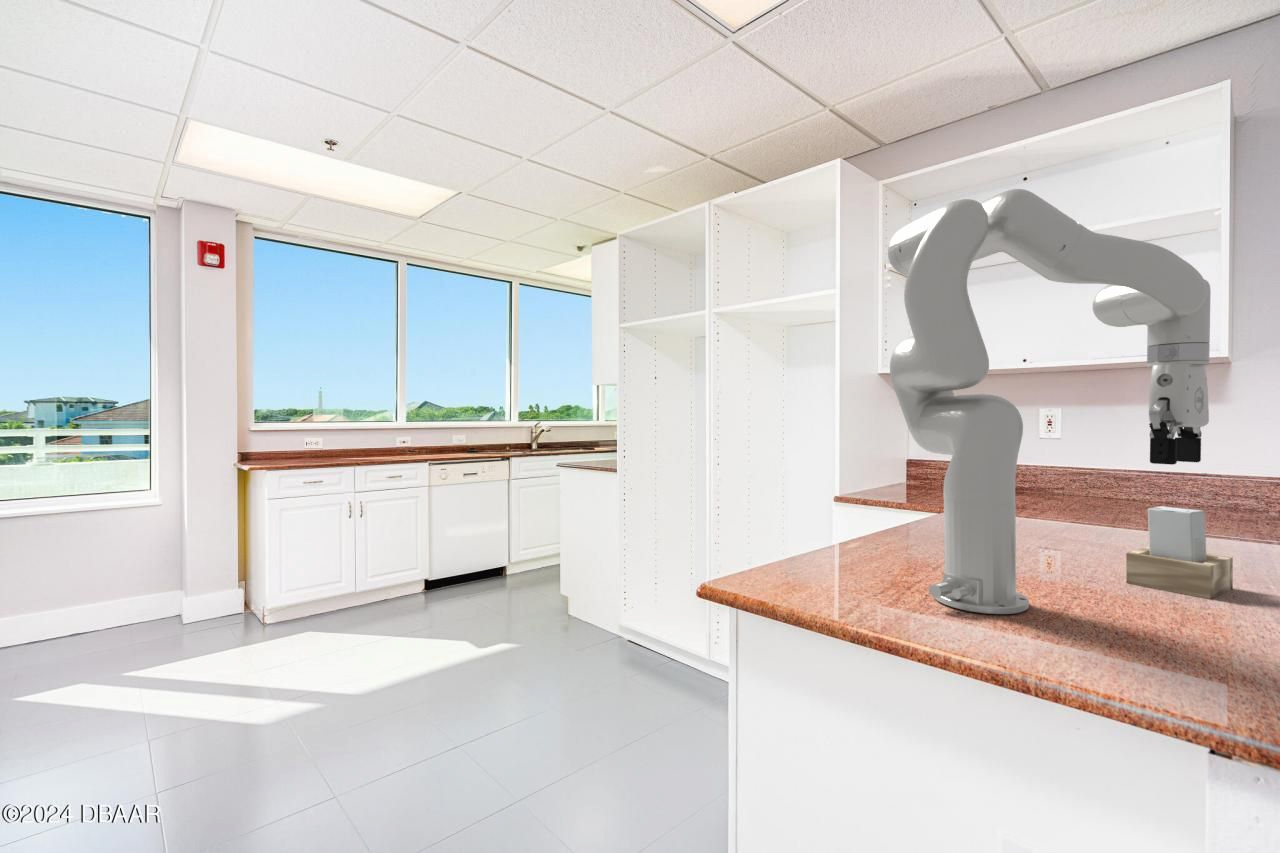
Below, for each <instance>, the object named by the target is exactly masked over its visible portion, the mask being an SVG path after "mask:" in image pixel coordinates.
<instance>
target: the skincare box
mask: <svg viewBox="0 0 1280 853" xmlns="http://www.w3.org/2000/svg"><path fill="white" fill-rule="evenodd" d="M1205 515H1206V514H1205V511H1204V510H1200V509H1191V508H1183V507H1182V508H1181V507H1170V506H1165V505H1164V506H1160V505H1159V506H1155V507H1154V506H1153V507H1149V508H1147V524H1148V546H1149V552H1150V555H1152V556H1158V557H1165V558H1171V559H1178V560H1184V561H1191V562H1197V563H1205V562H1207V560H1206V554H1207V540H1206V537H1207V536H1206V516H1205Z"/></svg>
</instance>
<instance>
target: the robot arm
mask: <svg viewBox="0 0 1280 853" xmlns="http://www.w3.org/2000/svg"><path fill="white" fill-rule="evenodd" d="M998 253H1004V254H1007V255H1008V256H1010V257H1011V258H1013V259H1015V261H1017V262H1020V263H1021V264H1023V265H1024V266H1025V267H1027V268H1029V269H1030V270H1032V271H1034V272H1035V273H1036V274H1038V275H1040V276H1042V277H1043V278H1044V279H1047V280H1048V281H1051V282H1056V283H1063V284H1064V283H1065V284H1076V285H1077V284H1082V285H1083V284H1084V285H1086V284H1087V285H1089V284H1090V285H1093V284H1094V285H1095V284H1096V285H1106V286H1104V287H1103V288H1102V289H1100V290H1099V291H1098V292H1097V294H1096V295H1095V296H1094V298H1093V301H1092V312H1093V314H1094V315H1095V317H1096V318H1097V320H1098V321H1100V322H1101V323H1102V324H1105V325H1107V326H1109V327H1115V328H1124V327H1125V328H1126V327H1132V326H1142V325H1143V326H1144V325H1145V326H1147V334H1146V335H1147V338H1146V341H1147V343H1146V344H1147V345H1146V346H1147V347H1146V348H1147V350H1146V352H1147V353H1146V354H1147V355H1146V368H1151V374H1150V383H1149V395H1148V396H1149V397H1148V420H1149V424H1148V425H1149V428H1150V432H1149V462H1150V463H1151V464H1154V465H1156V464H1157V465H1171V466H1172V465H1176V464H1177V462H1180V463H1181V462H1182V463H1184V462H1185V463H1201V461H1202V430H1201V428H1202V427H1205V426H1207V425H1208V424H1209V422H1210V420H1209V419H1210V418H1209V417H1210V414H1209V411H1210V410H1209V392H1208V378H1207V372H1206V367H1205V366H1209V365H1210V351H1211V350H1210V346H1211V344H1210V340H1211V338H1210V336H1211V285H1210V282H1209V281H1208V280H1207V279H1204V277H1203V276H1202V274H1201V273H1200V272H1199V270H1198V269H1197V268H1195V267H1194V265H1192V264H1190V263H1189V262H1188V261H1186V260H1185V259H1183V257H1180V256H1179V255H1177V254H1176V253H1174V252H1173V251H1171V250H1170V249H1168V248H1165V247H1162V246H1160V245H1158V244H1154V243H1150V242H1146V241H1143V240H1142V241H1141V240H1137V239H1132V238H1126V237H1122V236H1117V235H1112V234H1105V233H1100V232H1098V233H1097V232H1094V231H1092V230H1090V229H1088V228H1087V227H1086V226H1084V225H1083V224H1081V223H1079V222H1078V221H1076V220H1075V219H1073V218H1072V217H1070V216H1068V215H1067V214H1065V213H1064V212H1062V211H1061V210H1059V209H1058V208H1057V207H1055V206H1054V205H1052V204H1051V203H1049V202H1048V201H1046V200H1045V199H1043V198H1041V197H1040V196H1038V195H1037V194H1035V193H1034V192H1031V191H1030V190H1027V189H1025V188H1024V189H1022V188H1014V189H1008V190H1006V191H1003V192H1000V193H998V194H996V195H993V196H992V197H990V198H987V199H985V200H982V201H981V202H979V201H977V200H975V199H970V198H962V199H958V200H954V201H952V202H949V203H946V204H944V205H941V206H939V207H937V208H936V209H934V210H932V211H930V212H928V213H926V214H925V215H923V216H921V217H920V218H918V219H915V220H913V221H912V222H910V223H908V224H906V225H904V226H903V227H901V228H900V229H899V230H897V231H896V232H895V233H894V234H893V236H892V237H891V239H890V241H889V243H888V248H887V258H888V260H889V263H890V266H892V268H893V269H894V270H895V271H896V272H897V273H899V274H901V275H903V276H905V277H906V280H905V285H904V292H903V297H904V298H903V302H904V305H905V306H904V307H905V311H906V315H907V318H908V322H909V325H910V329H911V333H912V335H911V336H909V337H906V338H905V339H903V340H901V342H899V343H898V344H897V345H896V346H895V348H894V349H893V351H892V354H891V356H890V361H889V374H890V379H891V384H892V386H893V389H894V392H895V395H896V397H897V401H898V403H899V406H900V409H901V412H902V415H903V417H904V420H905V422H906V426H907V427H908V430H909V432H910V435H911V436H912V438H913V439H914V441H915V443H917V445H918V446H919V447H921V448H922V449H923V450H925V451H927V452H930V453H933V454H940V455H949V456H951V459H950V462H949V464H948V466H947V468H946V472H945V475H944V480H943V524H944V525H943V530H944V531H943V532H944V533H943V534H944V535H943V536H944V537H943V538H944V544H943V545H944V549H943V550H944V572H942V581H941V582H938V583H934V584H931V585H930V586H929V587H928V592H929V594H930V596H932V597H933V598H935V600H936V601H938V602H940V603H941V604H943V605H945V606H948V607H950V608H955V609H959V610H963V611H966V612H971V613H972V612H973V613H978V614H979V613H980V614H986V615H987V614H989V615H1010V614H1011V615H1013V614H1019V613H1023V612H1025V611H1027V610H1028V609H1029V607H1030V606H1029V605H1030V604H1029V603H1030V602H1029V598H1028V597H1027V596H1025V595H1024V594H1022V593H1020V592H1019V591H1017V533H1016V532H1017V531H1016V530H1017V528H1016V526H1017V525H1016V519H1017V518H1016V514H1017V512H1016V510H1017V508H1016V507H1017V506H1016V473H1017V463H1018V458H1019V452H1020V448H1021V444H1022V440H1023V436H1024V435H1023V434H1024V424H1023V423H1024V422H1023V418H1022V415H1021V413H1020V411H1019V409H1018V408H1017V407H1016V405H1014V404H1013V402H1011V401H1010V400H1008V399H1006V398H1004V397H1001V396H998V395H994V394H985V393H981V394H980V393H979V394H978V393H977V394H960V395H959V394H958V395H955V394H954V391H958V390H965V389H969V388H973V387H975V386H976V385H978V384H980V383H981V382H983V381H984V379H985V378H986V377H987V375H988V373H989V369H990V360H989V359H990V358H989V355H988V352H987V348H986V344H985V342H984V339H983V336H982V333H981V331H980V326H979V325H978V322H977V319H976V316H975V315H976V314H975V313H974V310H973V306H972V303H971V300H970V299H971V298H970V296H969V291H968V277H969V272H970V270H971V269H970V268H971V266H972V264H973V262H975V261H978V260H981V259H984V258H986V257H989V256H992V255H994V254H998ZM1176 434H1177V437H1176V436H1175V435H1176Z"/></svg>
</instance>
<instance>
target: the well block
mask: <svg viewBox="0 0 1280 853" xmlns="http://www.w3.org/2000/svg"><path fill="white" fill-rule="evenodd" d="M1125 557H1126V558H1125V559H1126V575H1125V576H1126V577H1125V578H1126V584H1129V583H1130V585H1134V584H1136V586H1140V585H1141V587H1144V588H1145V587H1146V588H1151V589H1155V588H1156V590H1160V589H1162V590H1161V591H1166V592H1171V591H1172V593H1177V594H1181V593H1182V594H1183V595H1188V596H1191V597H1192V596H1194V597H1197V598H1201V599H1208V600H1211V599H1213V598H1216V597H1218V596H1220V595H1223V594H1224V593H1227V592H1229V591H1231V590H1233V584H1234V582H1233V581H1234V580H1233V579H1234V578H1233V572H1234V571H1233V569H1234V568H1233V566H1234V565H1233V562H1234V560H1233V556H1225V555H1218V554H1211V553H1206V560H1207V562H1205V563H1197V562H1191V561H1184V560H1178V559H1171V558H1165V557H1158V556H1152V555H1150V552H1149V545H1148V546H1146V547H1142V548H1138V549H1135V550H1132V551H1129V552H1126V554H1125Z"/></svg>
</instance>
